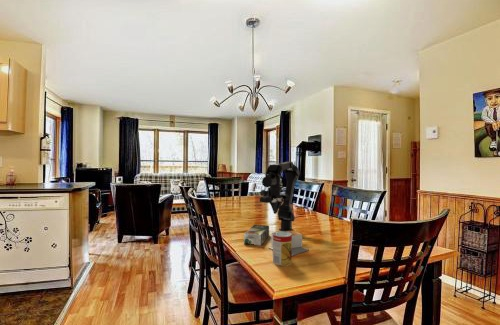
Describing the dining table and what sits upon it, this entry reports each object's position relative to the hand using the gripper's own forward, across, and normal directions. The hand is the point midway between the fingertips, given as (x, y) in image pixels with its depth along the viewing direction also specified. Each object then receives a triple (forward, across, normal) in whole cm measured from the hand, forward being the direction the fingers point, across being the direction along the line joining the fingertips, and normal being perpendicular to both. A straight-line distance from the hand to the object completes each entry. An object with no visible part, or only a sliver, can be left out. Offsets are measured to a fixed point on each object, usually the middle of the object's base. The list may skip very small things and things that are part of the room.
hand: (275, 213), depth 147 cm
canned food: (+13, +24, +28) cm, 39 cm away
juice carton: (+13, +11, -3) cm, 18 cm away
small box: (+9, +2, +18) cm, 20 cm away
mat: (+13, +10, +19) cm, 25 cm away
